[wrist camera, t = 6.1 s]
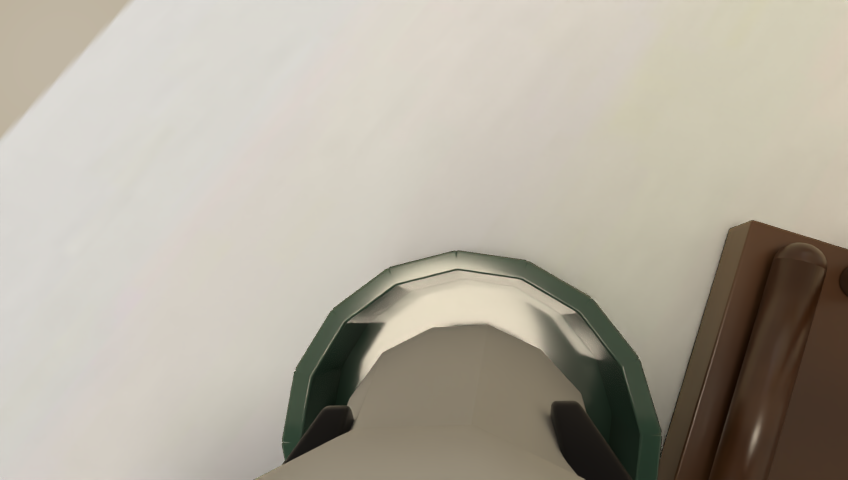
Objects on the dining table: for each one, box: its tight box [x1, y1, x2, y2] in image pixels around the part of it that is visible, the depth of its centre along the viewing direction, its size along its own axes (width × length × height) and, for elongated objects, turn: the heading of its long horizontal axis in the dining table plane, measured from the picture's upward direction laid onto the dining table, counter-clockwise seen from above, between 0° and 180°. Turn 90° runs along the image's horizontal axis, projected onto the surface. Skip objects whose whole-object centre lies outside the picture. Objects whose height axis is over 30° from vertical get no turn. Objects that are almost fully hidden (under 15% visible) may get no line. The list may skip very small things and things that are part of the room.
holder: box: [282, 250, 662, 480], centre depth 15 cm, size 9×9×4 cm
